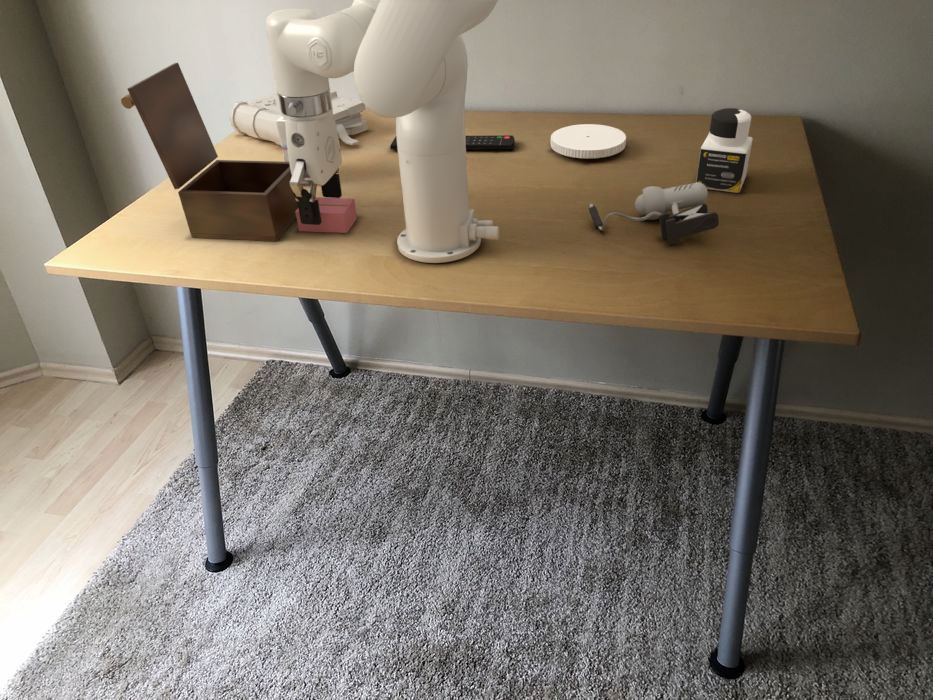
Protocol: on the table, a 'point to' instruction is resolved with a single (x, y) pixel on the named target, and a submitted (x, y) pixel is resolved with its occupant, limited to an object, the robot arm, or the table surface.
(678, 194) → the clip-on lamp
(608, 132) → the plastic lid
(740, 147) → the medicine bottle
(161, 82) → the lid
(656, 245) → the table surface
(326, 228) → the pink slotted box
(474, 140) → the remote control
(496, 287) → the table surface
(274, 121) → the book
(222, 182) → the chest
